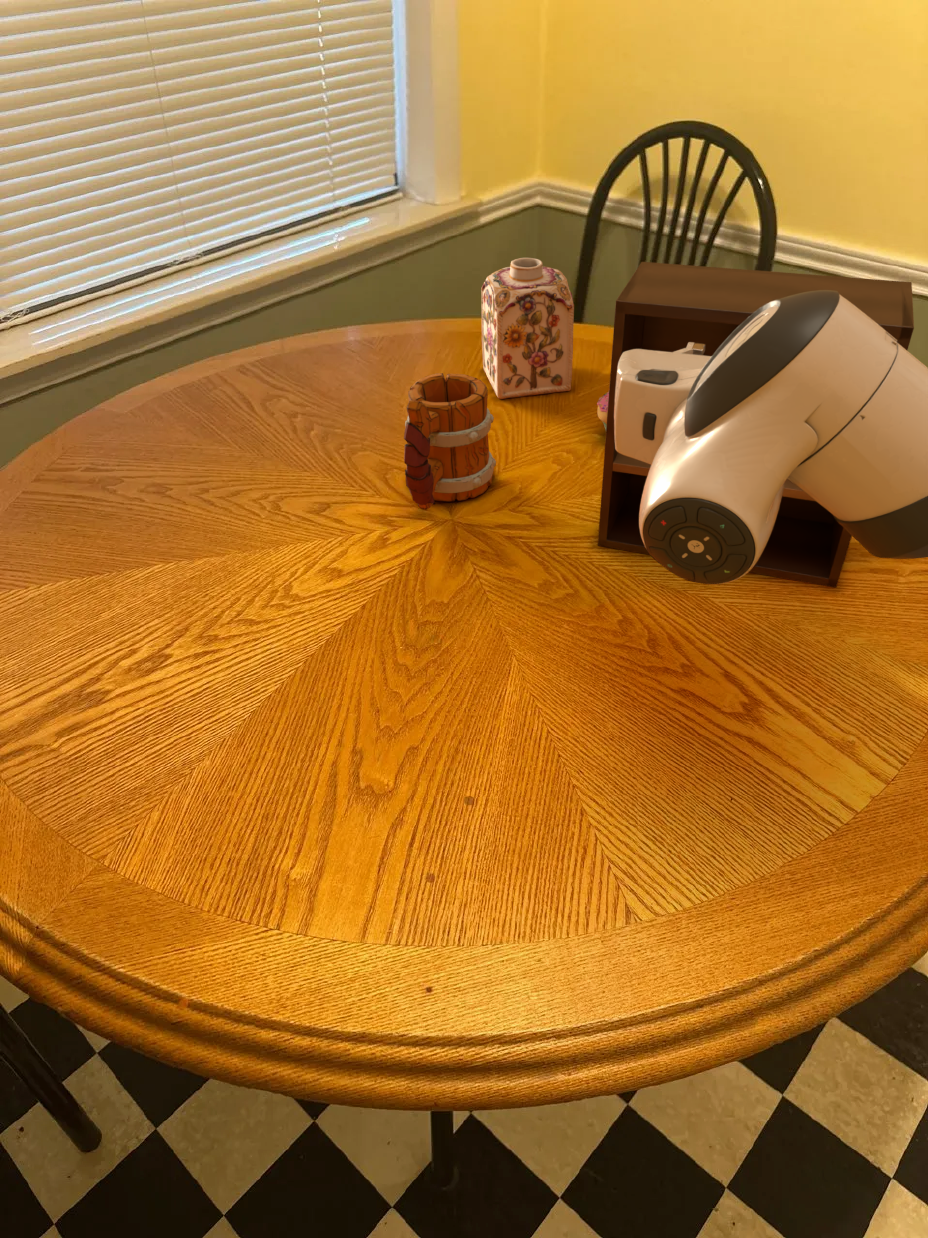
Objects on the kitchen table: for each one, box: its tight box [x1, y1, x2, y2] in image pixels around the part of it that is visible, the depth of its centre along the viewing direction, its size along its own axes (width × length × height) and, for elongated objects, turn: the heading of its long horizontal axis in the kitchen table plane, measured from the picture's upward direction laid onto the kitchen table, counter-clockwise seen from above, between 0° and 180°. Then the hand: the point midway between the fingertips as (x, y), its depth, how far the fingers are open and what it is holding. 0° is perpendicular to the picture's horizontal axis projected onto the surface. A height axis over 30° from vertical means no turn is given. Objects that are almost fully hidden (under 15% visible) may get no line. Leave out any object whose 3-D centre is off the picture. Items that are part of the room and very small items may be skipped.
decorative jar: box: [480, 257, 575, 400], centre depth 129 cm, size 12×12×18 cm
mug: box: [403, 372, 497, 510], centre depth 105 cm, size 11×16×15 cm, turn 155°
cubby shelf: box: [597, 261, 915, 588], centre depth 91 cm, size 12×26×28 cm, turn 69°
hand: (752, 356), depth 74 cm, fingers open, 8 cm apart
